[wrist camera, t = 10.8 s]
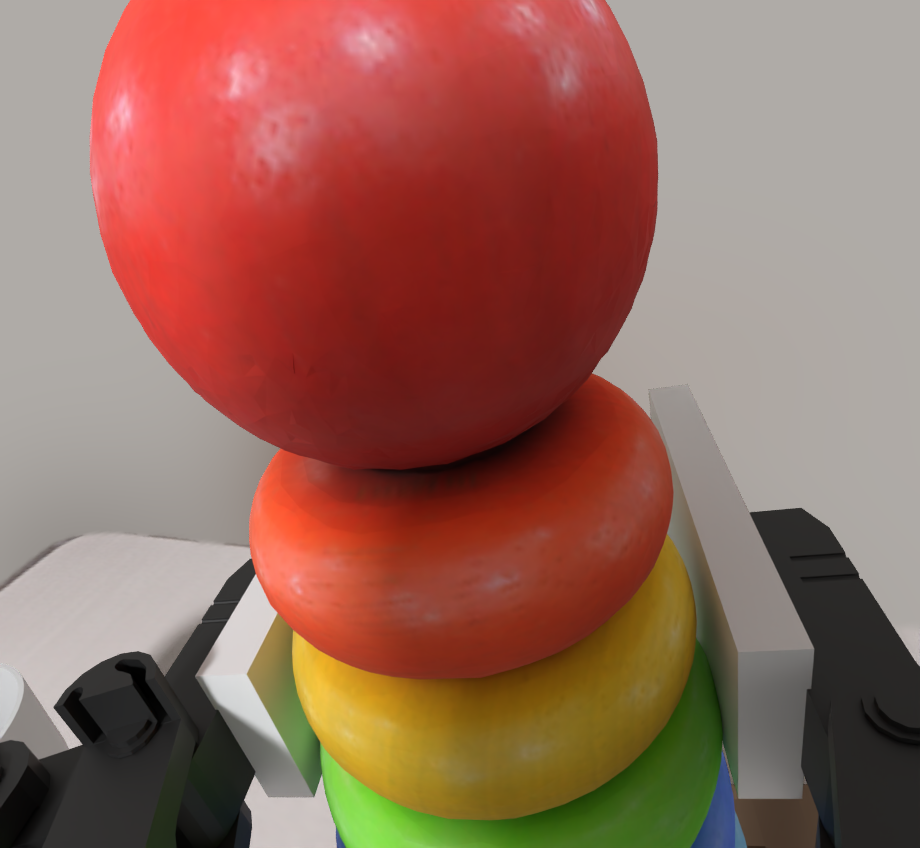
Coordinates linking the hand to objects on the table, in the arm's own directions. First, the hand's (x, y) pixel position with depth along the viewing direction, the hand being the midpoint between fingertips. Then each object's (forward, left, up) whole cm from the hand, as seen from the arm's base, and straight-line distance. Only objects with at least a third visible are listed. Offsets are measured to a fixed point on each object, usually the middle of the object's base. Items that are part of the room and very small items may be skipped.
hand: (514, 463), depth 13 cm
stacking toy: (0, +5, -10) cm, 11 cm away
